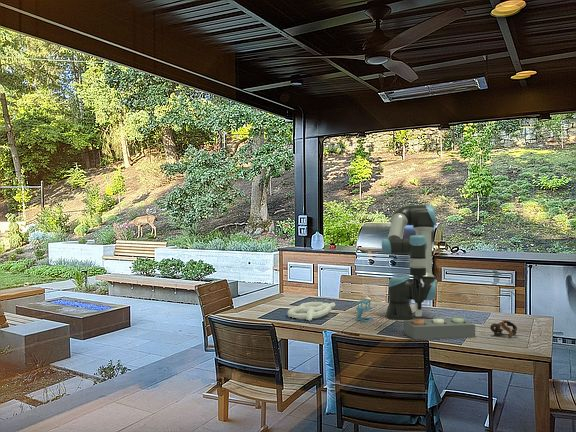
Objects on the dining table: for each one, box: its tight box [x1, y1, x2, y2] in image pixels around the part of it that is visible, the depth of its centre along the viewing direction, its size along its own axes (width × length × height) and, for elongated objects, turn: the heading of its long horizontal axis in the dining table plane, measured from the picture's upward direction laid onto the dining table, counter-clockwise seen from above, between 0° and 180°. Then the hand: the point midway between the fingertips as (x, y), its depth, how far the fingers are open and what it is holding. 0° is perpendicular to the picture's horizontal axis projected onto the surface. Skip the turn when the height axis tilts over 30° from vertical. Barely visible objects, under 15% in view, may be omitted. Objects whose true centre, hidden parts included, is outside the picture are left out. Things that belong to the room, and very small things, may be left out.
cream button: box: [432, 317, 445, 324], centre depth 227 cm, size 5×5×3 cm
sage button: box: [452, 317, 465, 323], centre depth 228 cm, size 5×5×3 cm
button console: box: [403, 318, 476, 340], centre depth 227 cm, size 14×30×6 cm, turn 96°
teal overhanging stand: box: [355, 298, 374, 323], centre depth 262 cm, size 8×8×12 cm
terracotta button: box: [412, 318, 425, 325], centre depth 226 cm, size 5×5×3 cm
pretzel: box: [286, 301, 336, 322], centre depth 275 cm, size 28×24×6 cm
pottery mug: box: [490, 319, 518, 339], centre depth 223 cm, size 12×10×8 cm
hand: (418, 315), depth 225 cm, fingers closed
